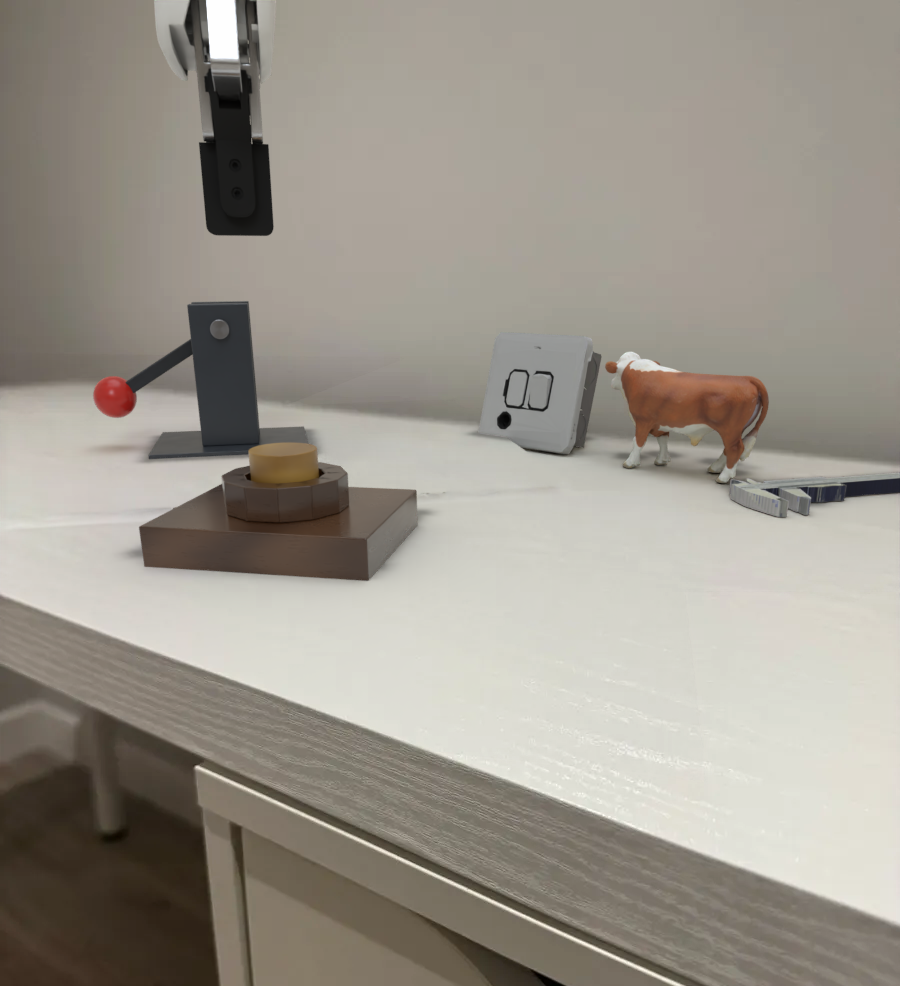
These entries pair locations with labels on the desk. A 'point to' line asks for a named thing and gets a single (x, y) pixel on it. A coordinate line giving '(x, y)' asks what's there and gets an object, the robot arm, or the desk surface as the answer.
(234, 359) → the switch bracket
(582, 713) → the desk surface
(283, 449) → the button
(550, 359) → the electrical switch
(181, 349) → the lever
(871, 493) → the caliper
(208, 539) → the block
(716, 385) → the bull figurine
